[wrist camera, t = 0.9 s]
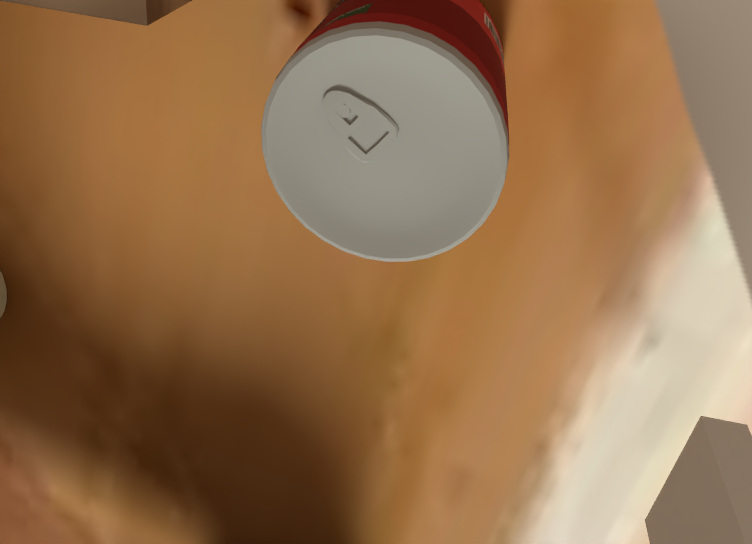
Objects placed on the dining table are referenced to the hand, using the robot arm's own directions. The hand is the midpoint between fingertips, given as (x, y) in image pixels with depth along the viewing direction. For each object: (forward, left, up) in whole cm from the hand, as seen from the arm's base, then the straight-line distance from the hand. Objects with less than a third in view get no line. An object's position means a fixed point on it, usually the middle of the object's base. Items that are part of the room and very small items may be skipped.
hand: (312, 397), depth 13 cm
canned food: (0, 0, -22) cm, 22 cm away
